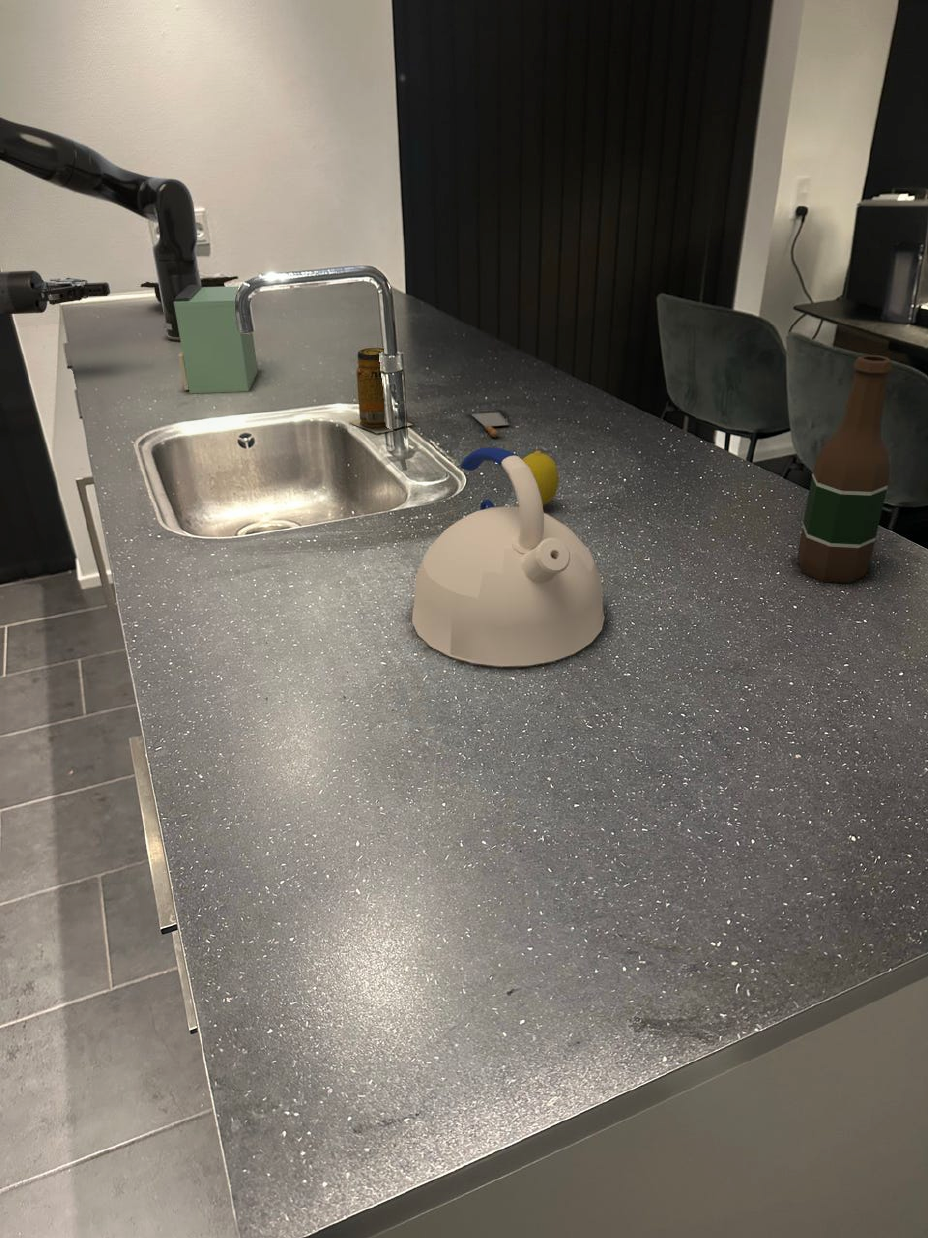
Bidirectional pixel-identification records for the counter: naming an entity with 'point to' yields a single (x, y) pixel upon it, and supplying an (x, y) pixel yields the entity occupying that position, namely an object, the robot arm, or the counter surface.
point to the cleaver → (491, 421)
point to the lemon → (543, 474)
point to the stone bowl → (204, 283)
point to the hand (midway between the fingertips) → (108, 288)
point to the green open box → (214, 341)
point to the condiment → (370, 392)
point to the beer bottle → (849, 483)
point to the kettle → (508, 581)
